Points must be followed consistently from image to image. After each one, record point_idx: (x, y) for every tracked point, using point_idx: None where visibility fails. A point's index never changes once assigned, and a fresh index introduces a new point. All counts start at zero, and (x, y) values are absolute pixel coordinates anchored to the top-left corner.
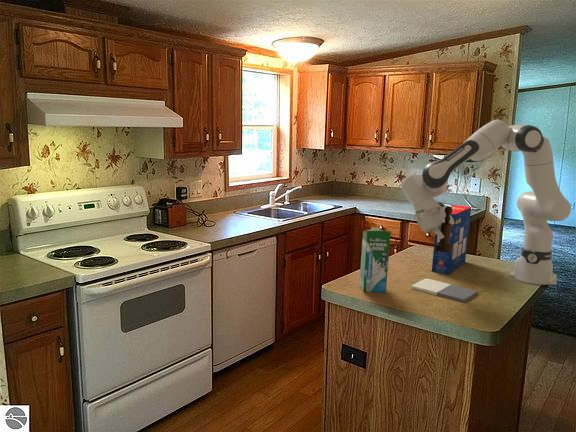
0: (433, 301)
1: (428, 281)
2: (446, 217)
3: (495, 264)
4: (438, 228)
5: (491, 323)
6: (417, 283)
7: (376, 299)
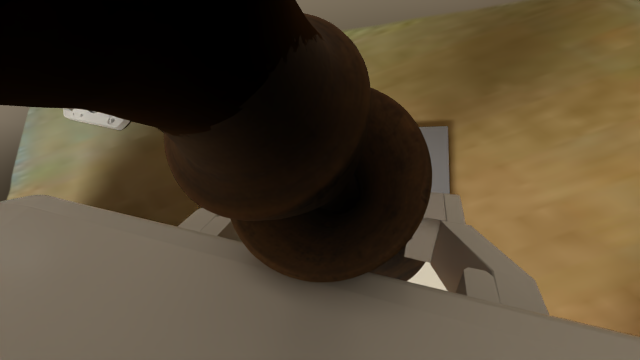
0: (525, 207)
1: None
2: (341, 101)
3: (47, 188)
4: (481, 288)
5: (561, 17)
6: None
7: None
